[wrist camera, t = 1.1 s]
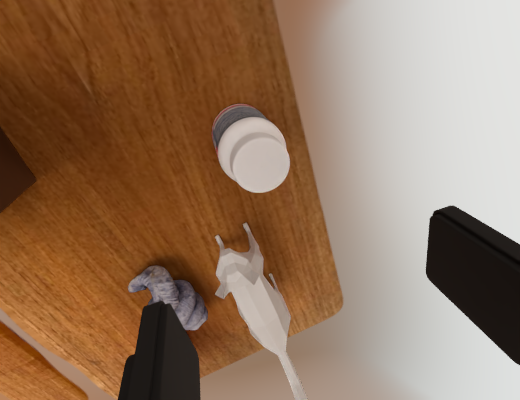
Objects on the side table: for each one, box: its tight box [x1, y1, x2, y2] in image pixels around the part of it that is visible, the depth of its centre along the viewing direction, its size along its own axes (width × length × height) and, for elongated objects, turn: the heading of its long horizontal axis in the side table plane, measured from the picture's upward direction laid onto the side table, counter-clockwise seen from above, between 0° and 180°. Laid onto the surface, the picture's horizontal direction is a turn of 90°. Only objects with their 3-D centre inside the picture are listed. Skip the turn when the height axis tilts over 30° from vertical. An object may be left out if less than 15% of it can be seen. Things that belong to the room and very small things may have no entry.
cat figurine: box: [215, 222, 308, 400], centre depth 29 cm, size 4×20×14 cm, turn 20°
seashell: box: [128, 265, 208, 330], centre depth 32 cm, size 5×5×10 cm
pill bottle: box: [212, 104, 290, 193], centre depth 23 cm, size 5×5×9 cm
